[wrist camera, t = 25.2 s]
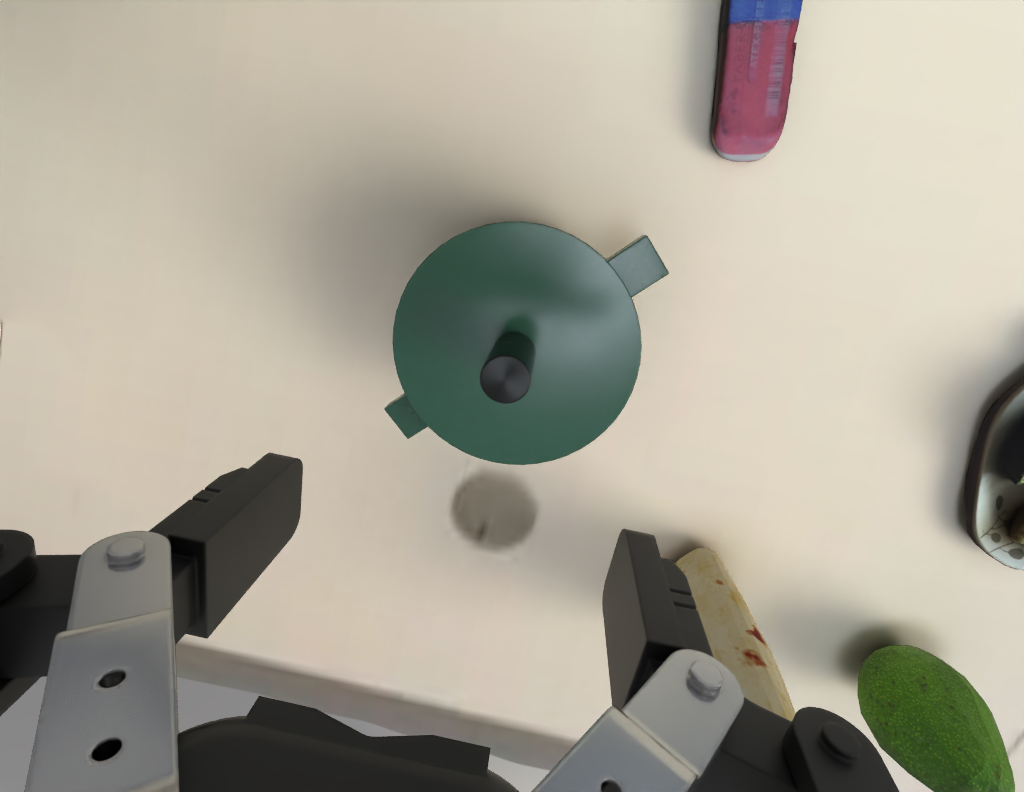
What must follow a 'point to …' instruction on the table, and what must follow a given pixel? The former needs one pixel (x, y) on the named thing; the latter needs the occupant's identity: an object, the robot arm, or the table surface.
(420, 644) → the table surface
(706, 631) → the food model
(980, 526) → the salad plate
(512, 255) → the lid
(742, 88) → the eraser
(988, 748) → the avocado
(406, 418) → the pot
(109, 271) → the table surface
